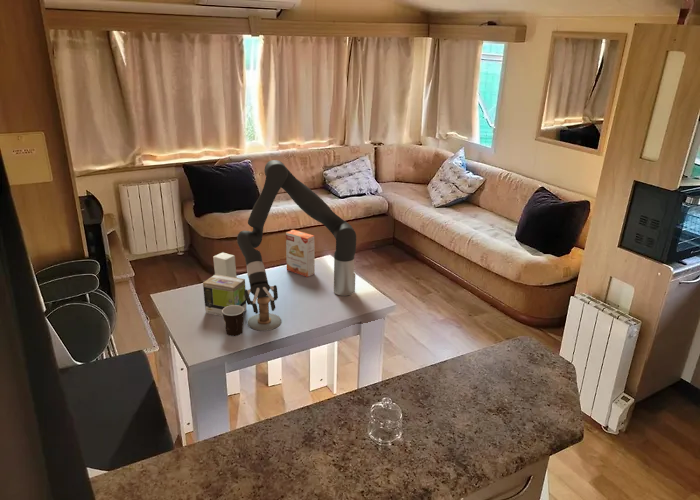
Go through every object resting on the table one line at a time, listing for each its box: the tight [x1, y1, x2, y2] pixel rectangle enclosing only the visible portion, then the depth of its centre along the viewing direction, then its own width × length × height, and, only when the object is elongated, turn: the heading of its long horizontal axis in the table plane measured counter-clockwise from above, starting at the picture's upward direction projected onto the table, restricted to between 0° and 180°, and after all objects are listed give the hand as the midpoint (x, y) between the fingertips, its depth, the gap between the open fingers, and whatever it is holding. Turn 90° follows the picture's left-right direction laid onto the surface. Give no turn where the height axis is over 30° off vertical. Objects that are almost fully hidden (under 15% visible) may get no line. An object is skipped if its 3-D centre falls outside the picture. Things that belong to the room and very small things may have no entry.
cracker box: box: [285, 229, 316, 278], centre depth 270 cm, size 14×6×21 cm, turn 55°
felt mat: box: [247, 312, 282, 332], centre depth 226 cm, size 14×14×1 cm
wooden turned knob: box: [256, 296, 271, 324], centre depth 224 cm, size 6×6×10 cm
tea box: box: [202, 273, 247, 317], centre depth 231 cm, size 15×10×15 cm
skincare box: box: [212, 251, 238, 278], centre depth 254 cm, size 8×7×16 cm
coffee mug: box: [222, 305, 245, 337], centre depth 215 cm, size 12×9×10 cm
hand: (265, 311), depth 223 cm, fingers open, 6 cm apart
